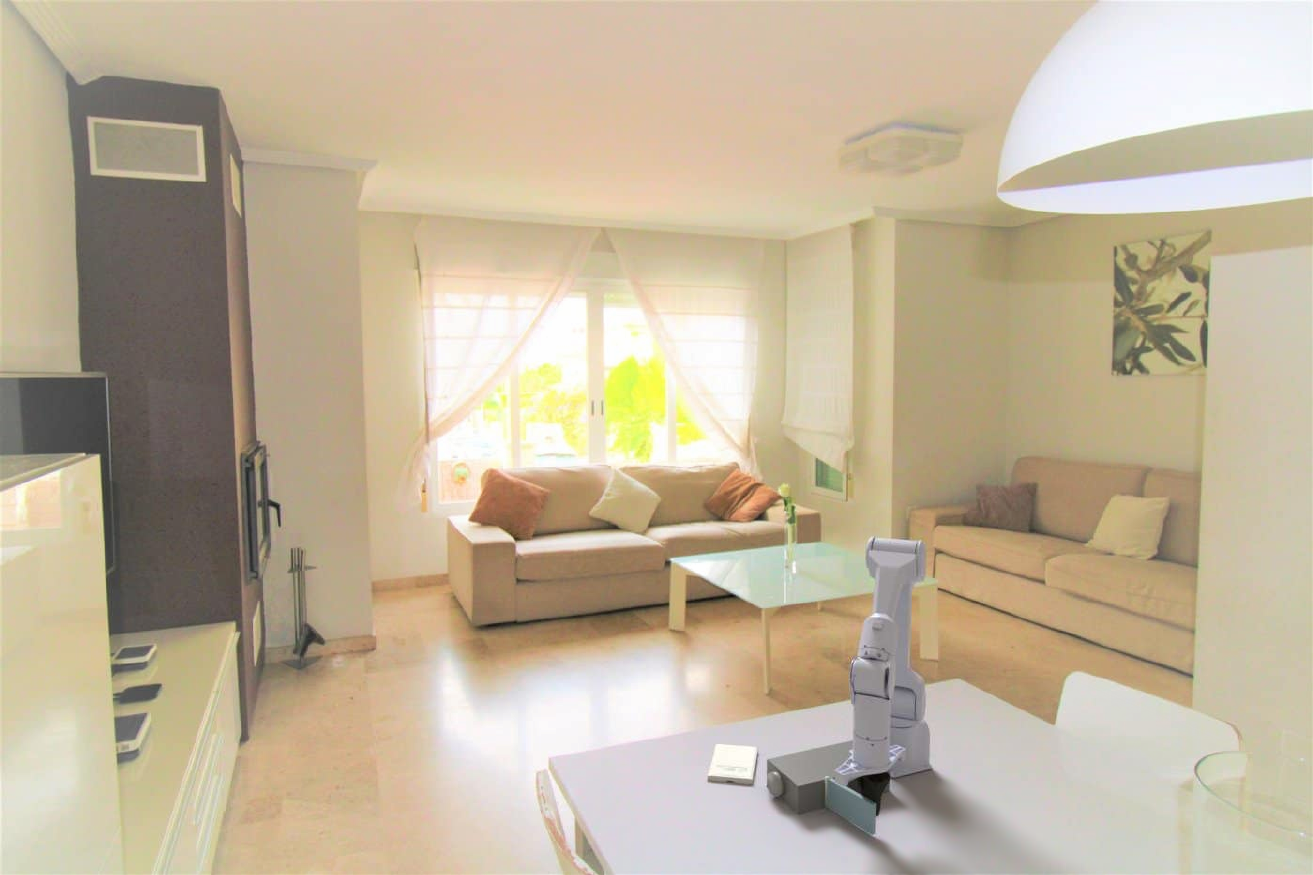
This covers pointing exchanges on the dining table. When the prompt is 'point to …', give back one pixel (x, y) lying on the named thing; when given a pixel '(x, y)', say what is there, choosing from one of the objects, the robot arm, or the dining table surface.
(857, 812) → the side door
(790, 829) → the dining table surface
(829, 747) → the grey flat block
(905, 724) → the robot arm
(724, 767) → the external hard drive
